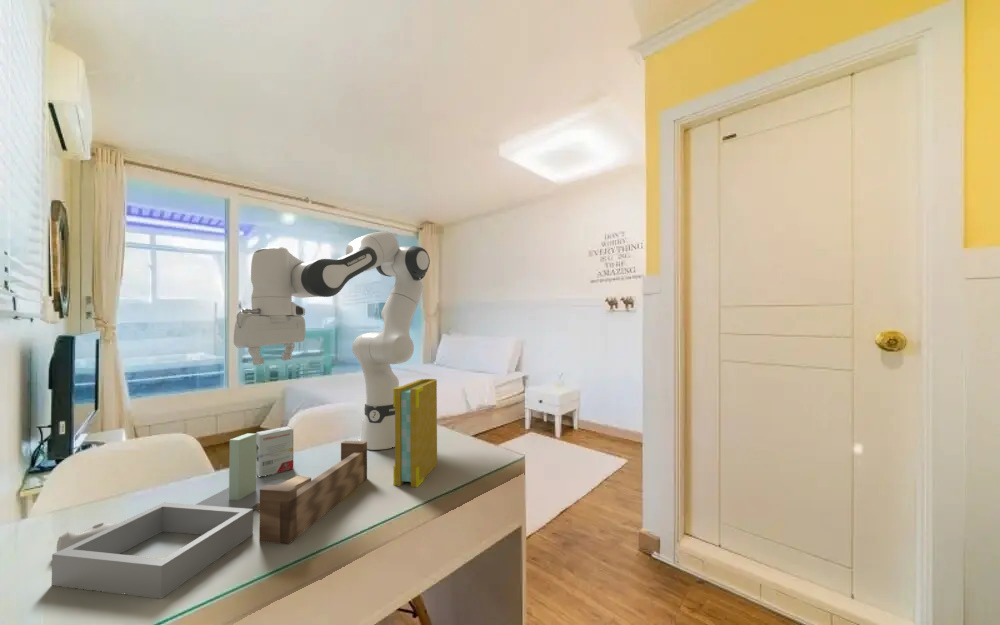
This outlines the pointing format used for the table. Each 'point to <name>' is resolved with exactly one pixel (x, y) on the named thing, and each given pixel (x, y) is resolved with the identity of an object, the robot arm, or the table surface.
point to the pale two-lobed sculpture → (80, 535)
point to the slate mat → (246, 502)
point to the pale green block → (242, 466)
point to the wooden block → (293, 484)
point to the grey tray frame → (112, 572)
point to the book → (415, 431)
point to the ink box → (274, 451)
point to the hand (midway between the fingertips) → (273, 362)
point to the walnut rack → (310, 496)
